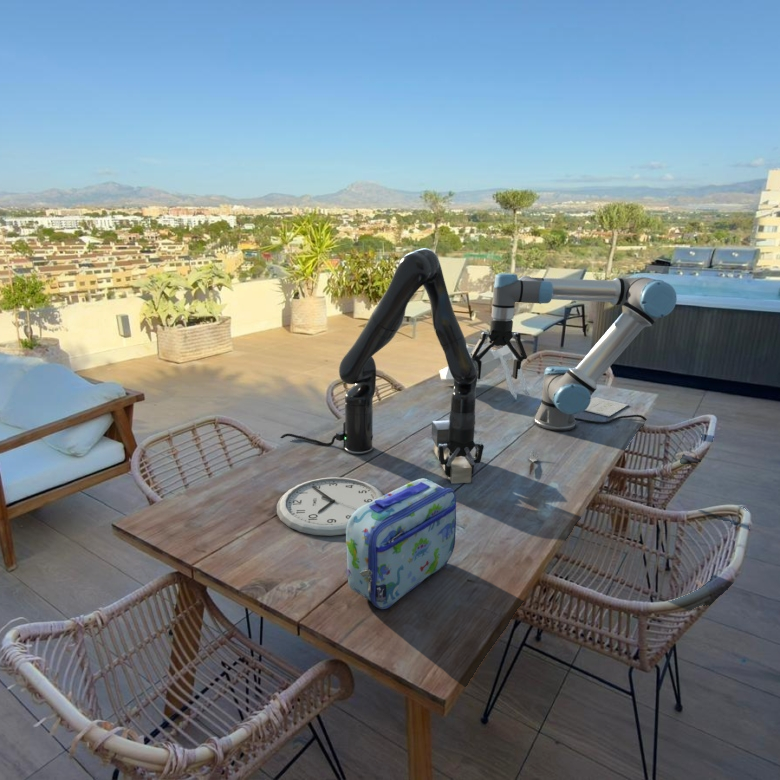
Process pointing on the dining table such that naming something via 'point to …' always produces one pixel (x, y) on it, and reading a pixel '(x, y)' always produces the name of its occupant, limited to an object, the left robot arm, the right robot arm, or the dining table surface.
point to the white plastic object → (492, 367)
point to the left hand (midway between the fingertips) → (458, 475)
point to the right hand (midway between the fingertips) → (496, 378)
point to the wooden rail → (457, 468)
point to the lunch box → (400, 540)
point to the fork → (533, 461)
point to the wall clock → (324, 504)
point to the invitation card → (604, 406)
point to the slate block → (440, 432)
